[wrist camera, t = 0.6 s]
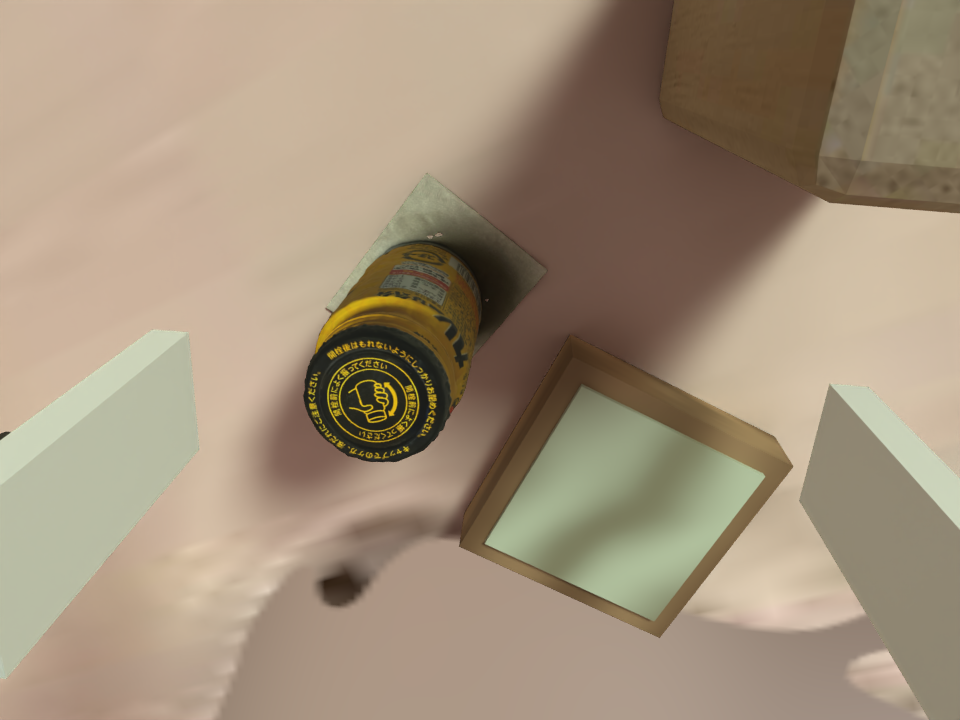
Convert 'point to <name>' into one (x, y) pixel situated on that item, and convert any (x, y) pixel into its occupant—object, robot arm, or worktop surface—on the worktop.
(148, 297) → the worktop surface
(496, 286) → the condiment
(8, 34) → the worktop surface
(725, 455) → the stand
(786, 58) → the wooden block
